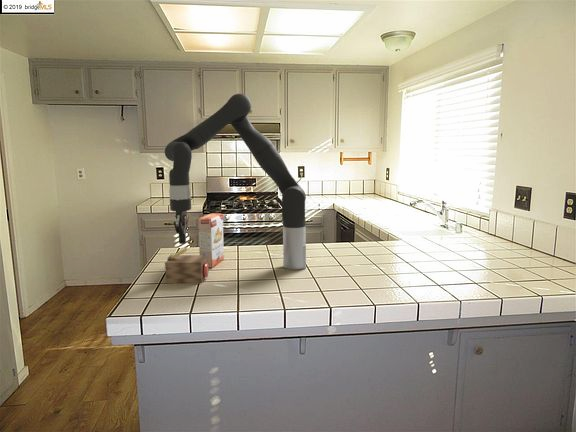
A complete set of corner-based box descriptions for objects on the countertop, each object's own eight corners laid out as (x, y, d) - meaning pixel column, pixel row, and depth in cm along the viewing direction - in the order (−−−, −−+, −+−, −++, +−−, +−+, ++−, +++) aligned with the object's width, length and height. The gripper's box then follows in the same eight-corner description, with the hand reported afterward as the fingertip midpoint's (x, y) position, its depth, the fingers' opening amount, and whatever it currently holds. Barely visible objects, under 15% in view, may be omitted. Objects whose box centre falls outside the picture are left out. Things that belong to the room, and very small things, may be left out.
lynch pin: (208, 274, 157) (208, 261, 156) (206, 279, 152) (205, 265, 151) (169, 275, 157) (168, 262, 156) (165, 279, 151) (164, 266, 151)
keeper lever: (187, 249, 154) (185, 246, 154) (185, 252, 150) (183, 249, 150) (171, 258, 155) (169, 255, 155) (168, 261, 151) (166, 258, 151)
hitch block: (206, 275, 159) (206, 255, 158) (201, 283, 149) (200, 262, 148) (173, 275, 159) (172, 255, 158) (166, 283, 149) (164, 262, 148)
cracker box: (213, 268, 168) (211, 218, 164) (199, 267, 169) (197, 218, 165) (225, 259, 181) (223, 213, 178) (212, 258, 182) (210, 212, 179)
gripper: (174, 195, 156) (177, 239, 158) (164, 199, 142) (167, 247, 145) (194, 195, 156) (196, 239, 159) (186, 199, 143) (188, 247, 145)
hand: (182, 243), depth 152 cm, fingers closed
